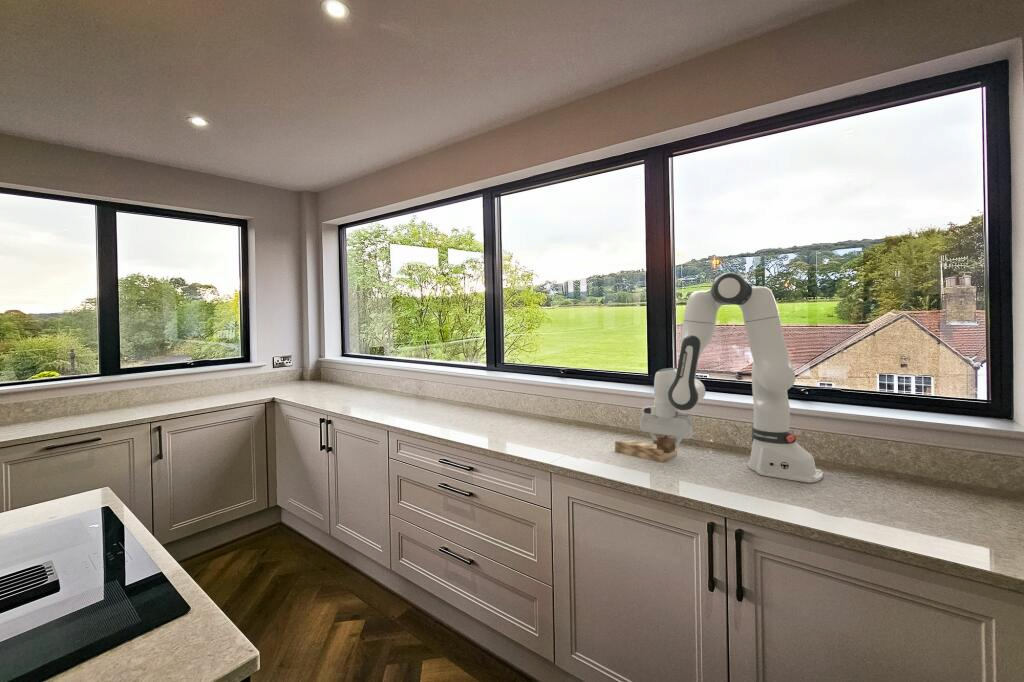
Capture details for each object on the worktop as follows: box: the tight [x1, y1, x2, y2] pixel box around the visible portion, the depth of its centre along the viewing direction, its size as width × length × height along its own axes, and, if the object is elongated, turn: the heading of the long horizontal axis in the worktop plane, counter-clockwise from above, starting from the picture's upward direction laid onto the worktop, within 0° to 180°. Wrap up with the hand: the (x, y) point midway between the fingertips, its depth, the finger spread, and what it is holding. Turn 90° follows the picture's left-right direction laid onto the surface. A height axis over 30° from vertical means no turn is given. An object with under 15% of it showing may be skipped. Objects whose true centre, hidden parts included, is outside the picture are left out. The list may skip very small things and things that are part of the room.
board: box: [614, 440, 678, 463], centre depth 187 cm, size 20×12×4 cm, turn 45°
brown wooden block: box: [656, 435, 676, 453], centre depth 182 cm, size 5×5×6 cm
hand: (665, 446), depth 182 cm, fingers open, 7 cm apart
